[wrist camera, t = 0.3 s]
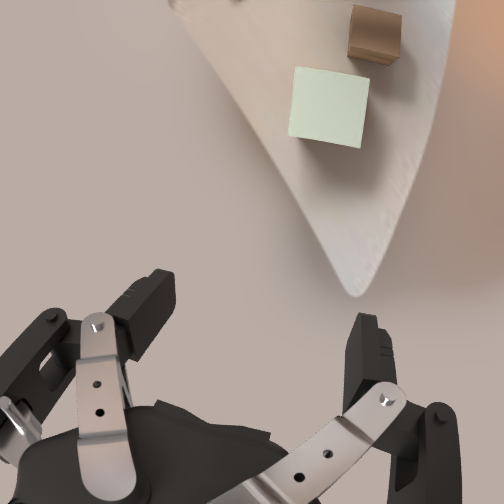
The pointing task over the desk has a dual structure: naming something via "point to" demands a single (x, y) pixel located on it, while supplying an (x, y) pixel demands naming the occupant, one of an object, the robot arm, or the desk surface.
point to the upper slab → (328, 106)
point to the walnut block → (374, 35)
